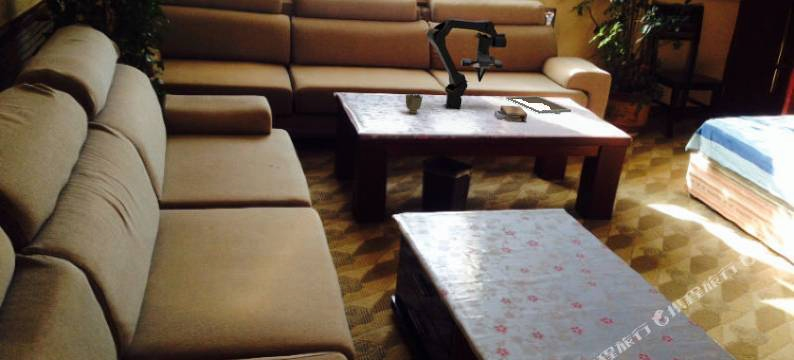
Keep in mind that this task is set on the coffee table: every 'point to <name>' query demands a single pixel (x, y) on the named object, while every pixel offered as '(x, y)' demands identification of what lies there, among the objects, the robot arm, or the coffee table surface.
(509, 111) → the overhang
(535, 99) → the grey picture frame
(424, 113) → the coffee table surface
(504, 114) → the grey shallow tray
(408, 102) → the cup
